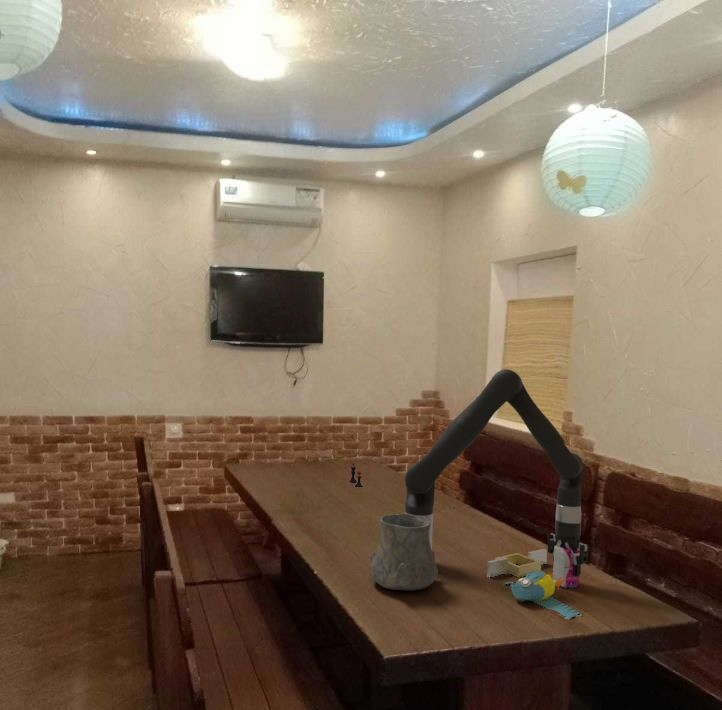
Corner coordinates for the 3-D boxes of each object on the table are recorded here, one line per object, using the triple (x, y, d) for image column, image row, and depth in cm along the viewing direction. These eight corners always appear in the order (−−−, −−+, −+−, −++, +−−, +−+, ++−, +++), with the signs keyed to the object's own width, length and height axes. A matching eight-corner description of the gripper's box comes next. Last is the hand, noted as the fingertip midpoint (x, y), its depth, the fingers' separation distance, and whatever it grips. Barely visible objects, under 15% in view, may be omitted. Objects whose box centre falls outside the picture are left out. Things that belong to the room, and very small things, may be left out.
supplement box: (562, 588, 194) (564, 551, 194) (552, 581, 200) (553, 545, 200) (579, 587, 196) (580, 550, 196) (568, 580, 202) (569, 544, 202)
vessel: (392, 566, 210) (394, 505, 209) (450, 584, 196) (452, 519, 195) (349, 584, 193) (351, 518, 192) (409, 605, 179) (412, 534, 178)
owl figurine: (594, 584, 176) (552, 594, 169) (593, 616, 176) (551, 626, 170) (524, 553, 201) (485, 561, 194) (524, 581, 201) (485, 589, 195)
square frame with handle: (500, 583, 198) (500, 567, 198) (476, 572, 206) (477, 557, 206) (557, 568, 212) (557, 553, 212) (533, 559, 221) (533, 544, 221)
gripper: (541, 514, 202) (539, 567, 202) (579, 526, 190) (577, 582, 190) (557, 511, 206) (555, 563, 206) (595, 523, 194) (594, 577, 194)
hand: (566, 572), depth 198 cm, fingers closed on supplement box, 6 cm apart
